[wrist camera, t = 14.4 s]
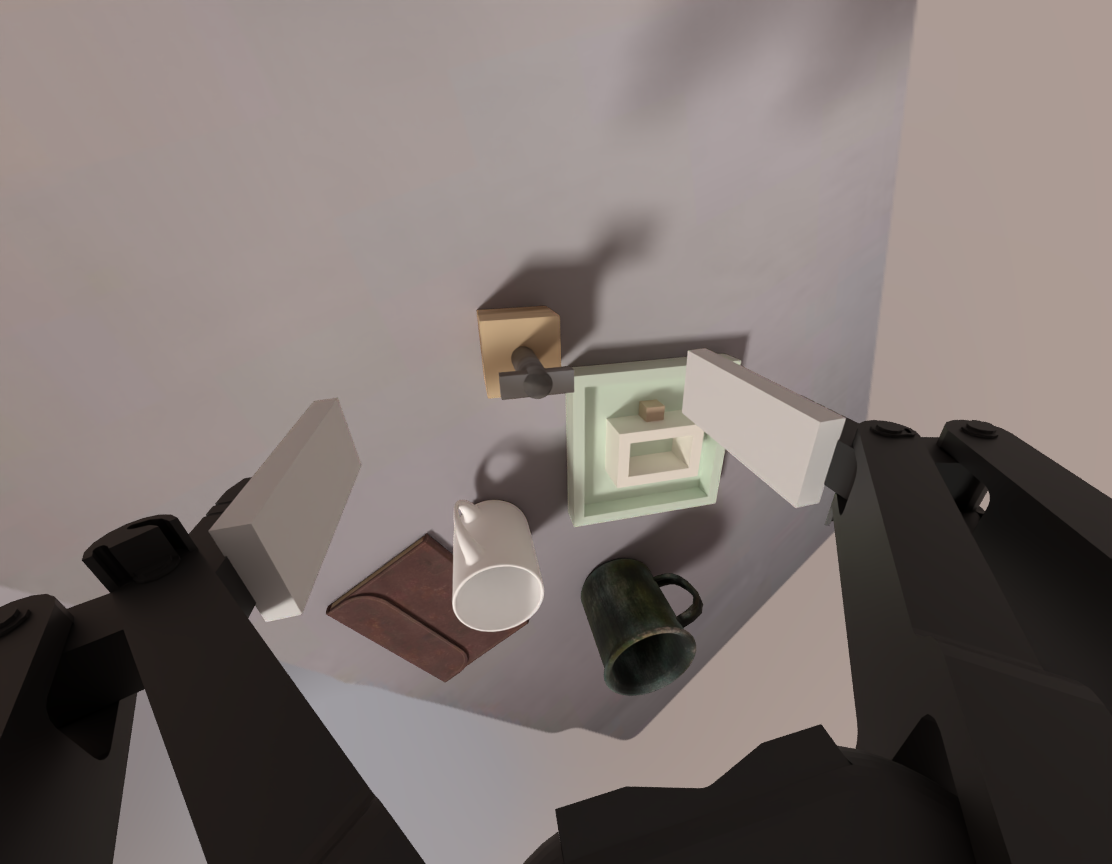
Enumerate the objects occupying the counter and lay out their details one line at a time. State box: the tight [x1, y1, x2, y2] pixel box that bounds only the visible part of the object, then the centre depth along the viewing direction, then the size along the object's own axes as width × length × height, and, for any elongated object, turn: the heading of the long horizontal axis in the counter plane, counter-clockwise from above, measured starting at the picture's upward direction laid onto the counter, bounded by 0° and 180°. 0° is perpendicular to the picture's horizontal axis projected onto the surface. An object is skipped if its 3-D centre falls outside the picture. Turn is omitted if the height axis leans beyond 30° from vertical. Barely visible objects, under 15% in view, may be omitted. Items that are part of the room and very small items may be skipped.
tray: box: [566, 353, 741, 527], centre depth 44 cm, size 18×18×3 cm
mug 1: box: [452, 500, 544, 632], centre depth 41 cm, size 9×12×11 cm
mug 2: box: [581, 559, 703, 696], centre depth 50 cm, size 11×15×12 cm
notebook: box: [326, 534, 529, 682], centre depth 50 cm, size 15×20×2 cm
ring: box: [605, 399, 704, 488], centre depth 43 cm, size 9×8×4 cm
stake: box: [477, 306, 574, 400], centre depth 32 cm, size 6×6×13 cm
